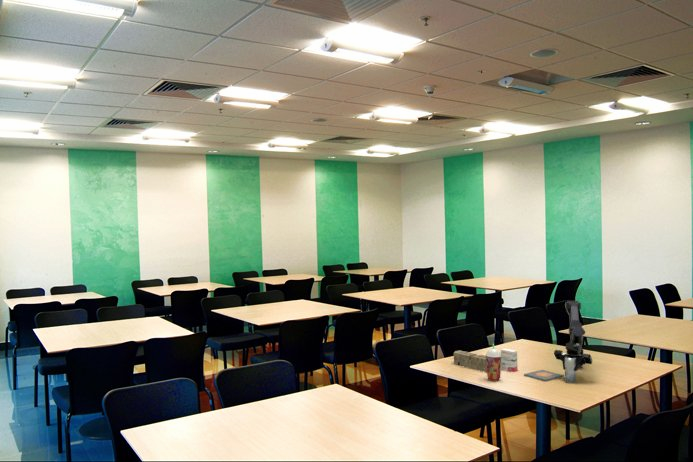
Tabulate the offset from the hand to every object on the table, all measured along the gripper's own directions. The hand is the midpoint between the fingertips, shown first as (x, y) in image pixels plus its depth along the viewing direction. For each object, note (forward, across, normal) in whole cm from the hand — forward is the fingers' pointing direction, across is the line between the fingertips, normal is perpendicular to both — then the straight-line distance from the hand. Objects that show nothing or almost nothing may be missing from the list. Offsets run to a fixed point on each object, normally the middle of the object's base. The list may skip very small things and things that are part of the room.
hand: (569, 370), depth 282 cm
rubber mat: (+2, -15, +7) cm, 17 cm away
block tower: (+7, -54, +4) cm, 55 cm away
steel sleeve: (+4, 0, +6) cm, 7 cm away
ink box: (+2, -36, +8) cm, 37 cm away
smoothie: (+19, -34, -10) cm, 40 cm away
